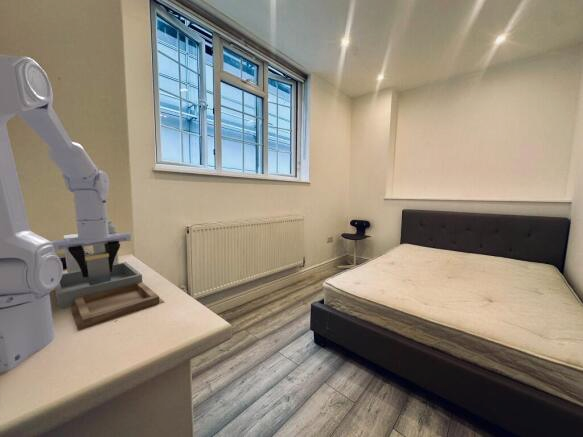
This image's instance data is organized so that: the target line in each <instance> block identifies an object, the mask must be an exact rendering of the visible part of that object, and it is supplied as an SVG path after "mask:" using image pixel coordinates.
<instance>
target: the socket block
mask: <svg viewBox="0 0 583 437" xmlns="http://www.w3.org/2000/svg"><path fill="white" fill-rule="evenodd" d="M164 303H166V302H165V301H164V300H163V299H162V298H161V297H160V295H158V294H157V293H155V291H154V290H153V289H151V288H150V287H149V286H148V285H146V284H145V283H144V282H143V281H142V282H138V283H134V284H130V285H126V286H122V287H117V288H113V289H109V290H105V291H101V292H97V293H93V294H89V295H85V296H81V297H77V298H75V304H73V305H70V306H69V307H70V310H71V313H72V316H73V318H74V323H75V325H76V327H77V332H78V331H82V330H85V329H89V328H92V327H93V326H97V325H100V324H103V323H106V322H109V321H112V320H116V319H119V318H121V317H125V316H127V315H130V314H134V313H137V312H140V311H143V310H145V309H146V310H147V309H149V308H152V307H156V306H158V305H162V304H164Z"/></svg>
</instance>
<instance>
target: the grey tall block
mask: <svg viewBox="0 0 583 437" xmlns="http://www.w3.org/2000/svg"><path fill="white" fill-rule="evenodd" d="M108 257H109V253H107V252H106V251H102V252H96V253H94V252H91V253H86V254H85V265H86V270H87V283H88V284H89V286H90V285H95V284H99V283H104V282H108V281H111V277H110V269H109V261H108Z"/></svg>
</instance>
